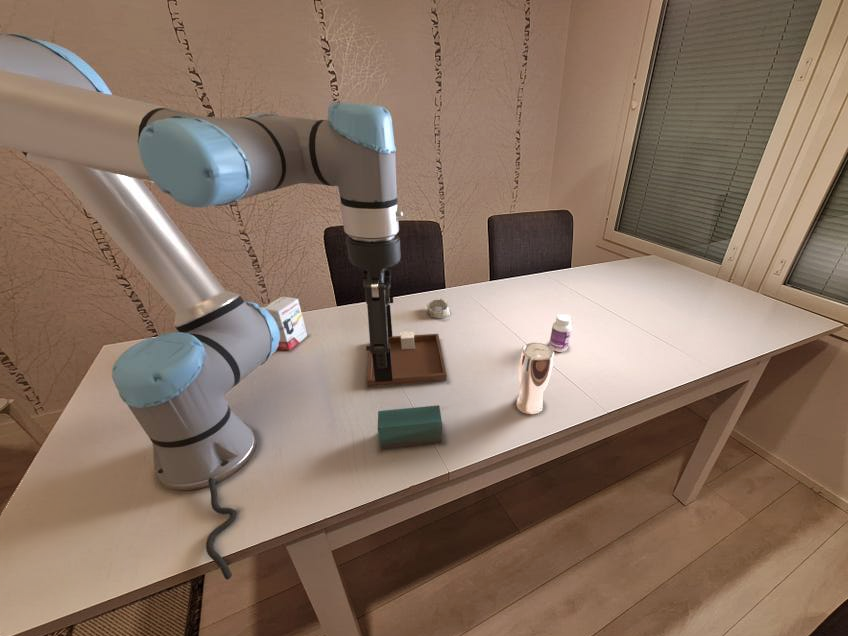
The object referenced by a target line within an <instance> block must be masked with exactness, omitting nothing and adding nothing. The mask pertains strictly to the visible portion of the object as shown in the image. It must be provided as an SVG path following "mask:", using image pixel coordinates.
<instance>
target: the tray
mask: <svg viewBox="0 0 848 636" xmlns="http://www.w3.org/2000/svg"><path fill="white" fill-rule="evenodd" d="M388 343H389V345H390V353H391V365H392V377H393V381H387V382H375V375H374V367H373V359H372V353H370V351H368V352H369V353H368V366H367V376H366V383H367V387H368V388H374V387H385V386H397V385H411V384H421V383H423V384H424V383H433V382H434V383H435V382H445V381H446V382H447V381H448V380H447V377H448V375H447V374H448V373H447V370H446V369H447V368H446V365H445V364H446V363H445V359H444V355H443V349H442V345H441V340H440V336H439V333H429V334H428V333H427V334H414V345H415V349H402V347H401V335H392V337H388Z"/></svg>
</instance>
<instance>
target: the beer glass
mask: <svg viewBox="0 0 848 636" xmlns="http://www.w3.org/2000/svg"><path fill="white" fill-rule="evenodd" d="M520 354H521V355H520V358H519V363H518V383H519V393H518V397H517V399H516V402H515V405H516V408H517V410H519V411H520V412H522V413H523V414H527V415H536V414H539V413H541V411H542V410H543V409H544V401H543V399H544V393H545V391H546V388H547V386H548V384H549V381H550V379H551V375H552V371H553V365H554V356H555V351H554V350H553V349H552V348H551V347H549V345H548V344H544V343H541V342H529V343H527V344H525V345H523V347H522V349H521V353H520Z"/></svg>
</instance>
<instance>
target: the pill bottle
mask: <svg viewBox="0 0 848 636" xmlns="http://www.w3.org/2000/svg"><path fill="white" fill-rule="evenodd" d="M571 322H572V317H571V316H570V315H567V314H557V316H556V318H555V322H553V324H552V326H551V332H550V337H549V343H548V346H549V347H551V348H552V349H553V351H554V352H557V353H558V352H559V353H562V352H566V351H567V350H568V348H569V344H570V339H571V335H572V334H571V333H572V329H573V327H572V324H571Z"/></svg>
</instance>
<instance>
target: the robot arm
mask: <svg viewBox="0 0 848 636" xmlns="http://www.w3.org/2000/svg"><path fill="white" fill-rule="evenodd" d="M393 126H394V125H393V118H392V115H391V113H390V111H389V110H388V109H387V108H386V107H384V106H382V105H377V104H366V103H365V104H364V103H353V102H352V103H351V102H338V101H337V102H335V101H334V102H330V103H329V105H328V107H327V119H320V120H319V119H311V118H302V117H295V116H285V115H279V114H275V113H261V114H248V115H246V116H245V117H244V116H243V117H238V116H237V117H216V116H205V115H201V114H196V113H191V112H187V111H183V110H179V109H173V108H170V107H167V106H162V105H159V104H158V105H157V104H154V103H153V104H152V103H148V102H145V101H144V102H143V101H140V100H136V99H131V98H126V97H123V96H118V95H114V94H112V91H111V90H110V88H109V87H108V85H107V84H106V83H105V81H104V80H103V79H102V77H101V76H100V74H98V73H97V72H96V71H95V69H93V68H92V66H90V65H89V64H88V63H87V62H86V61H84V60H83V59H82V58H81V57H80V56H78V55H77V54H76V53H74V52H72V51H71V50H69V49H67V48H65V47H62V46H60V45H59V44H56V43H54V42H51V41H48V40H47V41H46V40H41V39H36V38H33V37H31V36H28V35H24V34H17V33H16V34H15V33H5V34H4V33H0V147H2V148H6V149H11V150H14V151H19V152H21V153H22V154H23V155H24V156H25V157H26V159H27V160H28V161H30V163H33V164H36V165H38V166H41V167H44V168H47V169H50V170H51V171H53V172H55V174H56V175H57V176H59V178H60V180H61V181H62V182H63V183H64V184H65V185H66V186H67V187H68V189H70V191H71V192H72V193H73V194H74V196H75V197H76V198H77V200H79V202H80V203H81V204H82V205H83V206H84V208H85V209H86V210H87V211H88V212H89V213H90V214H91V216H92V217H93V218H94V220H96V222H97V223H98V224H99V225H100V226H101V227H102V228H103V230H104V231H105V232H106V233H107V234H108V235H109V237H110V238H111V239H112V240H113V241H114V243H115V244H116V245H117V246H118V247H119V249H121V251H122V252H123V253H124V254H125V256H126V257H127V258H128V259H129V260H130V262H131V263H132V264H133V265H134V267H136V268H137V269H138V271H139V272H140V273H141V274H142V275H143V277H144V278H145V279H146V280H147V281H148V283H149V284H150V285H151V286H152V287H153V288H154V290H155V291H156V292H157V293H158V294H159V295H160V297H161V298H162V299H163V300H164V301H165V302H166V304H167V305H168V306H169V307H170V308H171V310H172V311H173V312H174V314H175V317H174V321H173V327H174V328H175V329H176V330H177V331H173V332H165V333H160V334H158V335H157V336H156V337H148V338H145V339H143V340H141V341H139V342H137V343H135V344H134V345H132V346H130V347H129V348H127V349H126V350H125V351H124V352H122V353H121V354H120V355H119V356H118V358H117V359H116V361H115V362H114V364H113V366H112V369H111V371H112V373H111V379H112V381H113V383H114V385H115V387H116V389H117V392H118V395H119V398H120V399H121V400H122V402H123V403H125V404H126V405H127V407H128V409H129V410H130V411H131V413H132V414H133V416H134V417H135V419H136V420H137V421H138V424H139V425H140V426H141V428H142V429H143V431H144V432H145V434H146V436H148V438H149V440H150V441H151V443H152V453H153V467H154V471H155V474H156V477H157V478H158V479H159V481H160V482H161V483H162V484H163V486H165V487H167V488H169V489H172V490H176V491H194V490H200V489H203V488H207V487H209V491H210V505H211V508H212V510H213V511H214V512H215V513H218V514H224V515H229V517H228V518H227V519H226V520H225V521H224V522H223V523H221V524H220V525H219V526H218V527H216V528H215V529H214V530H213V531H211V533H209V535H208V536H207V539H206V543H205V550H206V554H207V556H209V558H210V559H211V560H212V561H213V562H214V563H215V564H216V565H217V566H218V567H219V569H220V571H221V573H222V575H223V577H224V579H225V580H230V579H231V578H232V576H233V575H232V574H233V573H232V571H231V569H230V567H229V565H228V563H227V562H226V560H225V559H224V558H223V557H222V556H221V555H220V554H219V553H218V552H217V550H215V548H214V541H215V538H216V536H218V535H219V534H220V533H221V532H222V531H224V530H226V528H228V527H230V525H232V524H233V522H234V521H235V520H236V518H237V511H236V510H235V509H234V508H230V507H221V506H220V505H219V503H218V490H217V485H216V484H218V483H220V482H222V481H225V480H226V479H228V478H229V477H231V476H233V475H234V474H235V473H237V472H238V471H240V470H241V469H242V468H243V467H244V466H245V465H246V464H247V463H248V462H249V460H250V459H251V458H252V457H253V455H254V453H255V452H256V451H255V450H256V448H257V447H256V446H257V439H256V436H255V434H254V432H253V430H252V428H251V427H250V426H249V425H248V424H247V423H245V422H244V421H243V420H242V419H241V418H240V417H239V416H238V415H236V414H235V413H234V412H233V411H232V410H231V407H230V406H229V403H228V401H227V398H226V394H227V393H228V392H230V391H231V390H232V389H233V388H234V387H236V386H237V385H238V384H240V383H241V382H242V381H243V380H244V379H245V378H246V377H248V376H249V375H251V374H252V373H253V372H254V371H255V370H256V369H258V368H259V367H260V366H262V365H264V364H265V363H266V362H267V361H268V360H269V358H271V356H272V355H273V354H274V353H275V352H276V351H277V350H278V349H277V348H278V346H279V341H280V333H279V329H278V326H277V324H276V322H275V320H274V318H273V317H272V315H271V314H270V313H269V312H268V311H267V310H266V309H265V308H263V307H264V306H260V305H259V304H258V303H256V302H253V301H245V300H244V299H243V297H242V296H241V295H240V293H237V292H234V291H229V290H227V289H225V288H224V286H223V285H222V284H221V283H220V282H219V280H218V279H217V277H216V276H215V274H213V272H212V271H211V269H210V268H209V267H208V265H207V264H206V263H205V262H204V260H203V259H202V257H200V255H199V253H197V251H196V249H195V248H194V247H193V245H192V244H191V243H190V242H189V241H188V239H187V238H186V236H185V235H184V234H183V232H182V231H181V230H180V228H179V227H178V226H177V225H176V223H175V222H174V221H173V219H172V218H171V217H170V215H169V214H168V213H167V212H166V210H165V209H164V207H163V206H162V205H161V204H160V202H159V201H158V199H157V198H156V197H155V196H154V194H153V193H152V191H151V190H150V189H149V187H148V186H147V184H145V182H148V183H153V184H154V185H155V186H157V188H158V189H159V190H160V191H161V192H163V194H167V195H169V196H170V197H171V198H172V199H173V200H174V201H175V202H177V203H179V204H181V205H183V206H187V207H191V208H198V209H199V208H201V209H202V208H207V207H212V206H216V207H221V206H222V207H223V206H227V205H231V204H233V203H236V202H238V201H240V200H244V199H247V198H251V197H255V196H258V195H260V194H265V193H268V192H272V191H277V190H280V189H284V188H288V187H291V186H295V185H299V184H310V185H322V186H329V187H337V188H338V193H339V200H340V202H339V204H340V209H341V218H342V225H343V231H344V233H345V234H346V235H347V236H346V237H345V244H346V249H347V250H346V251H347V257H348V261H349V263H351V264H352V265H353V266H355V267H357V268H362V269H363V276H362V285H363V288H364V295H365V299H364V300H365V303H366V307H367V321H368V322H367V323H368V334H369V345H365V350H366V351H368V352H370V353H372V359H373V367H374V375H375V382H387V381H393V377H392V365H391V353H390V345H389V343H388V337H392V336H393V325H392V324H393V323H392V313H391V312H392V311H391V304H394V297H393V296H390V288H391V269H387V268H391V267H393V266H396V265H397V264H399V263H400V261H401V259H402V253H401V238H400V237H399V235H398V233H399V231H400V225H399V218H400V219H401V218H403V217H404V214H403V211H402V210H400V209H399V210H398V208H399V207H398V203H399V202H398V193H397V192H398V189H397V187H398V186H397V166H396V165H397V164H396V163H397V161H396V153H397V147H396V145H395V136H394V135H395V134H394V128H393ZM225 565H227V566H225ZM220 567H221V568H220Z"/></svg>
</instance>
